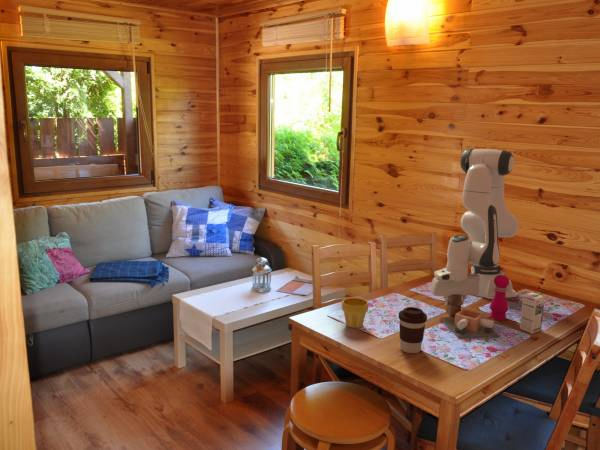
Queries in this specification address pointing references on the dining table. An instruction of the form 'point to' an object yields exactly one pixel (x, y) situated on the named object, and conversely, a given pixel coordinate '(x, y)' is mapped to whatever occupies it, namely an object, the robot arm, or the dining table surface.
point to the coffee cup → (412, 329)
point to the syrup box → (532, 312)
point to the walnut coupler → (454, 304)
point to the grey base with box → (470, 325)
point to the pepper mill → (499, 298)
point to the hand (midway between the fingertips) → (453, 304)
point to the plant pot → (354, 311)
